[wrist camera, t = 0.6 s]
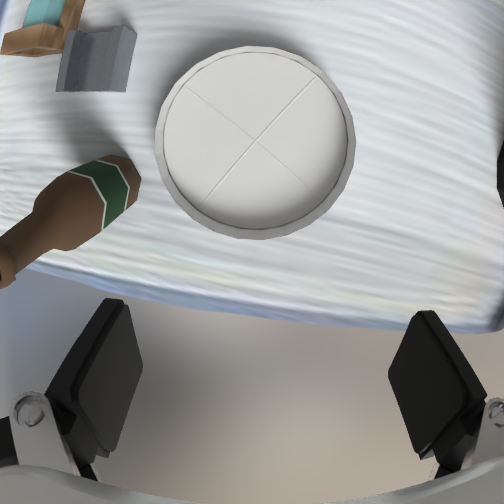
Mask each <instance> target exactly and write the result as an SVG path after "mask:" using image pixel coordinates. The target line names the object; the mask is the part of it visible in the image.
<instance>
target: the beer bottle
mask: <svg viewBox="0 0 504 504" xmlns="http://www.w3.org/2000/svg"><path fill="white" fill-rule="evenodd" d="M140 182H141V178H140V176H139V174H138V173H137V171H136V169H135V167H134V166H133V164H132V162H131V160H128V159H124V158H121V157H117V156H113V155H109V156H105V157H102V158H100V159H97V160H94V161H92V162H89V163H87V164H84V165H82V166H79V167H77V168H74V169H72V170H69V171H67V172H65V173H64V174H62V175H60V176H58V177H57V178H56V179H55V180H53V181H52V182H51V183H50V184H49V185H48V186H47V187H46V188H45V189H44V190H42V191H41V192H40V194H39V195H38V197H37V198H36V200H35V203H34V207H33V211H32V213H31V214H29V215H28V216H27V217H25V218H24V219H23V220H21V221H20V222H19V223H17V224H16V225H15V226H13V227H12V228H11V229H10V230H8V231H7V232H6V233H5V234H3V235H2V236H1V237H0V289H2V288H4V287H7V286H8V285H10V284H11V283H12V282H13V281H15V279H16V278H15V275H16V274H17V273H18V272H19V271H21V270H22V269H23V268H25V267H26V266H27V265H29V264H30V263H31V262H33V261H34V260H35V259H37V258H38V257H40V256H41V255H42V254H44V253H46V252H48V251H50V250H52V249H58V250H63V251H68V250H73V249H76V248H77V247H79V246H80V245H82V244H83V243H85V242H86V241H88V240H89V239H91V238H92V237H94V236H95V235H97V234H98V233H99V232H101V231H102V230H103V229H104V228H105V227H107V226H108V225H109V224H110V223H111V222H112V221H113V220H115V219H116V218H117V217H118V216H119V215H120V214H122V213H123V212H124V211H125V210H126V209H128V208H129V207H130V206H131V205H132V204H133V203H134V202H135V201H136V200H137V196H138V191H139V187H140Z"/></svg>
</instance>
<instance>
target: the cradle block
mask: <svg viewBox="0 0 504 504" xmlns="http://www.w3.org/2000/svg"><path fill="white" fill-rule="evenodd" d="M136 38H137V34H136V33H134V32H132V30H131V29H129V28H127V27H126V26H124V25H121V26H113V30H112V31H105V32H94V33H83V32H80V31H77V30H72V31H68V32H67V36H66V40H65V44H64V48H63V53H62V58H61V63H60V68H59V74H58V80H57V86H56V92H126V86H127V81H128V75H129V70H130V65H131V60H132V56H133V51H134V47H135V42H136Z"/></svg>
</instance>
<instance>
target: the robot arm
mask: <svg viewBox="0 0 504 504" xmlns="http://www.w3.org/2000/svg"><path fill="white" fill-rule="evenodd" d="M142 369H143V363H142V359H141V355H140V352H139V348H138V344H137V340H136V336H135V332H134V327H133V323H132V319H131V315H130V311H129V307H128V305H125V304H124V302H123V300H120V299H111V298H105V299H104V300H103V302H102V303H101V304H100V306H99V307H98V309H97V310H96V312H95V313H94V315H93V316H92V318H91V319H90V321H89V322H88V324H87V325H86V327H85V328H84V330H83V332H82V333H81V335H80V336H79V337H78V338H77V340H76V341H75V343H74V345H73V346H72V348H71V349H70V351H69V353H68V354H67V356H66V358H65V359H64V361H63V363H62V364H61V366H60V368H59V369H58V371H57V373H56V375H55V376H54V378H53V380H52V382H51V383H50V385H49V387H48V389H47V391H46V393H45V394H44V395H43V394H41V393H39V392H34V391H30V392H25V393H23V394H21V395H19V396H18V397H17V398H16V399H15V400H14V401H13V403H12V404H11V407H10V410H9V416H8V417H5V418H2V419H0V504H206V503H197V502H190V501H183V500H176V499H170V498H164V497H159V496H153V495H149V494H144V493H139V492H135V491H130V490H127V489H122V488H118V487H115V486H111V485H107V484H104V483H102V481H101V479H100V477H99V475H98V473H97V471H96V469H95V466H94V464H93V462H94V459H95V456H96V455H98V456H102V457H105V458H108V457H109V453H110V451H111V452H113V451H114V450H115V449H116V446H117V443H118V440H119V437H120V434H121V431H122V428H123V425H124V421H125V418H126V416H127V412H128V410H129V407H130V404H131V401H132V398H133V395H134V392H135V390H136V387H137V384H138V381H139V379H140V376H141V373H142ZM388 378H389V381H390V384H391V386H392V389H393V391H394V394H395V397H396V399H397V402H398V405H399V407H400V411H401V413H402V416H403V419H404V422H405V425H406V428H407V431H408V434H409V437H410V439H411V442H412V446H413V449H414V451H415V452H416V453H418V454H419V457H420V460H423V459H426V458H429V457H433V456H434V455H435V457H436V462H435V465H434V467H433V470H432V472H431V474H430V476H429V479H428V481H427V482H425V483H421V484H418V485H415V486H411V487H408V488H404V489H400V490H396V491H392V492H388V493H383V494H378V495H374V496H369V497H363V498H357V499H351V500H345V501H339V502H330V503H321V504H504V399H501V398H492V399H490V400H489V401H488V402H487V403H485V401H484V399H485V398H486V397H487V393H486V391H485V390H484V388H483V386H482V384H481V383H480V381H479V379H478V377H477V376H476V374H475V372H474V371H473V369H472V367H471V366H470V364H469V363H468V361H467V359H466V358H465V356H464V354H463V353H462V352H461V350H460V348H459V347H458V345H457V344H456V342H455V341H454V339H453V337H452V336H451V334H450V333H449V331H448V330H447V329H446V327H445V326H444V324H443V323H442V321H441V320H440V318H439V317H438V315H437V314H436V313H435V312H434V311H432V310H428V311H418V312H417V313H416V315H414V316H413V317H412V318H411V320H410V323H409V325H408V328H407V330H406V333H405V335H404V337H403V340H402V342H401V344H400V347H399V349H398V351H397V353H396V355H395V357H394V360H393V362H392V364H391V366H390V368H389V371H388Z"/></svg>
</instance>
